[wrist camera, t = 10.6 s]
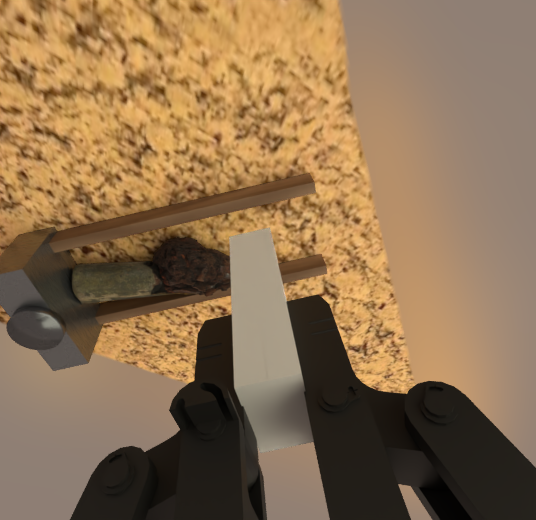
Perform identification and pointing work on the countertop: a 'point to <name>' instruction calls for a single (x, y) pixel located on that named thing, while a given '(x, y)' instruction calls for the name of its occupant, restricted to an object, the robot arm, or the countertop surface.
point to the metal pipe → (155, 274)
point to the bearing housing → (46, 301)
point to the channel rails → (182, 215)
